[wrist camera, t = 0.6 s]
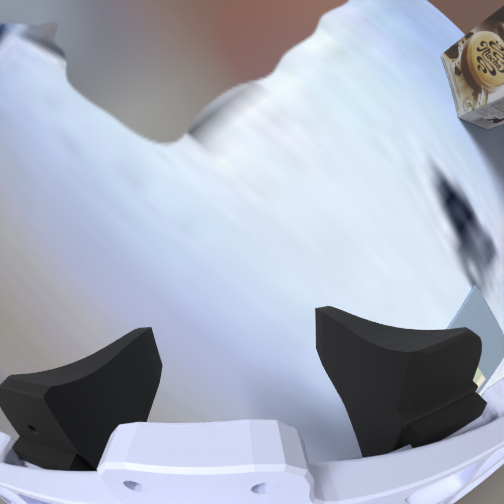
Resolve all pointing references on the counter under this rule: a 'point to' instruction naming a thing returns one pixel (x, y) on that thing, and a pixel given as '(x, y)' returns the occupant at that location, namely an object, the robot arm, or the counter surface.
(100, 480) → the robot arm
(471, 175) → the counter surface
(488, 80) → the coffee box
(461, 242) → the counter surface
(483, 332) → the board
